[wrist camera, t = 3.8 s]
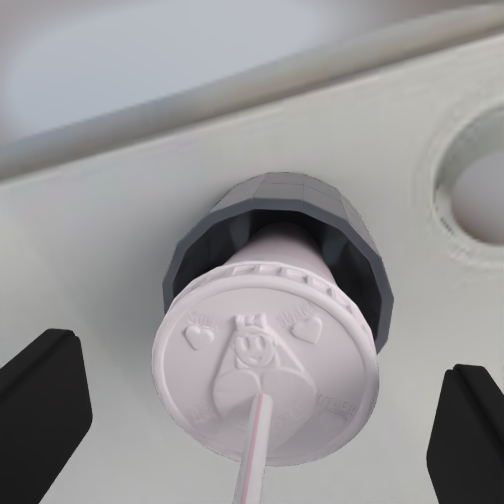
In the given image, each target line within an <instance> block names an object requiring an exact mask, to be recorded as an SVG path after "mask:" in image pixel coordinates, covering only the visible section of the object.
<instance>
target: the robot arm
mask: <svg viewBox="0 0 504 504" xmlns="http://www.w3.org/2000/svg"><path fill="white" fill-rule="evenodd" d="M92 418H93V415H92V408H91V402H90V396H89V390H88V384H87V378H86V372H85V366H84V360H83V354H82V348H81V342H80V339H79V337H77V336H75V334H74V332H73V331H71V330H64V329H52V328H51V329H48V330H46V331H45V332H43V333H42V334H41V335H40V336H39V337H38V338H36V339H35V340H34V341H33V342H32V343H30V344H29V345H28V346H27V347H26V348H25V349H23V350H22V351H21V352H20V353H19V354H17V355H16V356H15V357H14V358H13V359H12V360H10V361H9V362H8V363H7V364H6V365H4V366H3V367H2V368H1V369H0V504H39V502H40V501H41V500H42V498H43V497H44V495H45V494H46V492H47V491H48V489H49V488H50V486H51V485H52V483H53V482H54V480H55V479H56V477H57V476H58V475H59V473H60V472H61V470H62V469H63V467H64V466H65V464H66V463H67V461H68V460H69V458H70V457H71V455H72V454H73V452H74V451H75V450H76V448H77V447H78V445H79V444H80V442H81V441H82V439H83V438H84V436H85V435H86V433H87V432H88V430H89V429H90V426H91V423H92ZM426 460H427V468H428V472H429V475H430V478H431V481H432V484H433V487H434V490H435V493H436V496H437V499H438V502H439V504H504V394H503V393H502V392H501V390H500V389H499V387H498V386H497V384H496V383H495V381H494V380H493V379H492V377H491V376H490V374H489V373H488V371H487V370H486V369H485V368H484V367H482V366H474V365H463V364H456V365H455V366H454V367H453V370H449V369H448V370H447V371H446V372H445V375H444V380H443V384H442V388H441V393H440V397H439V402H438V406H437V410H436V415H435V419H434V424H433V428H432V432H431V437H430V441H429V446H428V450H427V457H426Z"/></svg>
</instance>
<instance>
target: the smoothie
mask: <svg viewBox="0 0 504 504" xmlns="http://www.w3.org/2000/svg"><path fill="white" fill-rule="evenodd" d="M151 369H152V377H153V381H154V385H155V388H156V391H157V394H158V396H159V398H160V400H161V402H162V404H163V405H164V407H165V409H166V410H167V412H168V413H169V415H170V416H171V417H172V419H173V420H174V421H175V422H176V423H177V425H178V426H179V427H180V428H181V429H182V430H183V431H184V432H185V433H187V434H188V435H189V436H190V437H192V438H193V439H194V440H196V441H197V442H198V443H200V444H201V445H203V446H205V447H206V448H208V449H210V450H212V451H214V452H215V453H217V454H219V455H222V456H225V457H227V458H230V459H233V460H235V461H239V462H241V464H240V469H239V474H238V479H237V484H236V489H235V495H234V500H233V504H260V503H261V495H262V487H263V479H264V471H265V466H273V467H279V466H291V465H299V464H303V463H308V462H311V461H315V460H318V459H320V458H323V457H325V456H327V455H329V454H331V453H334V452H335V451H337V450H338V449H340V448H342V447H343V446H344V445H346V444H347V443H348V442H350V441H351V440H352V439H353V438H354V437H355V436H356V435H357V434H358V433H359V432H360V431H361V429H362V428H363V427H364V425H365V424H366V422H367V421H368V419H369V418H370V416H371V414H372V412H373V409H374V407H375V404H376V400H377V396H378V391H379V369H378V363H377V353H376V349H375V345H374V340H373V336H372V332H371V329H370V327H369V325H368V324H367V322H366V320H365V319H364V317H363V315H362V313H361V312H360V310H359V308H358V307H357V305H356V304H355V303H354V302H353V301H352V300H351V299H350V298H349V297H348V296H347V295H346V294H345V293H344V292H342V291H341V290H340V289H339V288H338V286H337V284H336V282H335V280H334V278H333V276H332V274H331V272H330V270H329V268H328V266H327V264H326V261H325V259H324V257H323V255H322V253H321V251H320V249H319V247H318V245H317V243H316V241H315V239H314V238H313V236H312V235H311V234H310V233H309V232H308V231H307V230H306V229H304V228H303V227H301V226H299V225H296V224H293V223H289V222H276V223H271V224H268V225H266V226H264V227H262V228H261V229H260V230H258V231H257V232H256V233H255V234H254V235H253V236H252V237H251V238H250V239H249V240H248V241H247V242H246V243H245V244H244V245H243V246H242V247H241V248H240V249H239V250H238V251H237V252H236V253H235V254H234V255H233V256H232V257H231V258H230V259H229V260H228V261H227V262H226V263H225V264H224V265H223V266H219V267H216V268H214V269H212V270H211V271H209V272H207V273H205V274H203V275H201V276H200V277H198V278H196V279H194V280H192V281H191V282H190V283H189V284H188V285H187V286H186V287H185V288H184V289H183V290H182V291H181V292H180V293H179V294H178V295H177V296H176V297H175V298H174V300H173V302H172V304H171V306H170V308H169V310H168V311H167V313H166V315H165V317H164V319H163V321H162V322H161V324H160V326H159V328H158V330H157V333H156V335H155V338H154V342H153V346H152V353H151Z"/></svg>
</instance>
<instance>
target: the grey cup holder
mask: <svg viewBox="0 0 504 504" xmlns="http://www.w3.org/2000/svg"><path fill="white" fill-rule="evenodd" d="M276 222H289V223H293V224H296V225H299V226H301V227H303V228H304V229H306V230H307V231H308V232H309V233H310V234H311V235H312V236H313V238H314V239H315V241H316V243H317V245H318V247H319V249H320V251H321V253H322V255H323V257H324V259H325V261H326V264H327V266H328V268H329V270H330V272H331V274H332V276H333V278H334V280H335V282H336V284H337V286H338V288H339V289H340V290H341V291H342V292H344V293H345V294H346V295H347V296H348V297H349V298H350V299H351V300H352V301H353V302H354V303H355V304H356V305H357V307H358V308H359V310H360V312H361V313H362V315H363V317H364V319H365V320H366V322H367V324H368V325H369V327H370V329H371V332H372V336H373V340H374V345H375V349H376V353H377V355H378V353H379V352H380V350H381V349H382V348H383V346H384V345H385V343H386V342H387V339H388V334H389V328H390V321H391V315H392V309H393V302H394V297H393V294H392V290H391V287H390V284H389V281H388V278H387V274H386V271H385V268H384V265H383V261H382V258H381V256H380V254H379V252H378V250H377V248H376V246H375V244H374V242H373V240H372V238H371V236H370V234H369V232H368V230H367V228H366V226H365V224H364V222H363V220H362V218H361V216H360V214H359V213H358V212H357V211H356V210H355V208H354V207H353V206H352V205H351V204H350V202H349V201H348V200H347V199H346V198H345V197H344V196H343V195H342V194H341V193H340V192H339V191H338V190H337V189H336V188H334V187H332V186H330V185H328V184H326V183H325V182H323V181H321V180H319V179H316V178H313V177H311V176H308V175H306V174H299V173H289V172H278V173H266V174H264V175H261V176H257V177H254V178H252V179H249V180H247V181H245V182H243V183H240V184H237V185H236V186H235V187H234V188H233V189H232V190H231V191H230V192H228V193H227V194H226V195H225V196H224V197H223V198H222V199H221V200H220V201H219V202H218V203H217V204H216V205H215V206H214V207H213V208H212V209H211V210H210V211H209V212H208V213H207V214H206V215H205V216H204V217H203V218H202V219H201V220H200V221H199V222H198V223H197V224H196V225H195V226H194V227H193V228H192V229H191V230H190V231H189V232H188V233H187V234H186V235H185V236H184V237H183V238H182V239H181V240H180V241H179V242H178V243H177V245H176V247H175V249H174V252H173V255H172V257H171V260H170V263H169V265H168V268H167V271H166V273H165V276H164V279H163V283H162V284H163V298H164V312H165V315H166V313H167V311H168V310H169V308H170V306H171V304H172V302H173V300H174V298H175V297H176V296H177V295H178V294H179V293H180V292H181V291H182V290H183V289H184V288H185V287H186V286H187V285H188V284H189V283H190V282H191V281H192V280H194V279H196V278H198V277H200V276H201V275H203V274H205V273H207V272H209V271H211V270H212V269H214V268H216V267H219V266H223V265H224V264H225V263H226V262H227V261H228V260H229V259H230V258H231V257H232V256H233V255H234V254H235V253H236V252H237V251H238V250H239V249H240V248H241V247H242V246H243V245H244V244H245V243H246V242H247V241H248V240H249V239H250V238H251V237H252V236H253V235H254V234H255V233H256V232H257V231H258V230H260V229H261V228H262V227H264V226H266V225H268V224H271V223H276Z"/></svg>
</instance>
